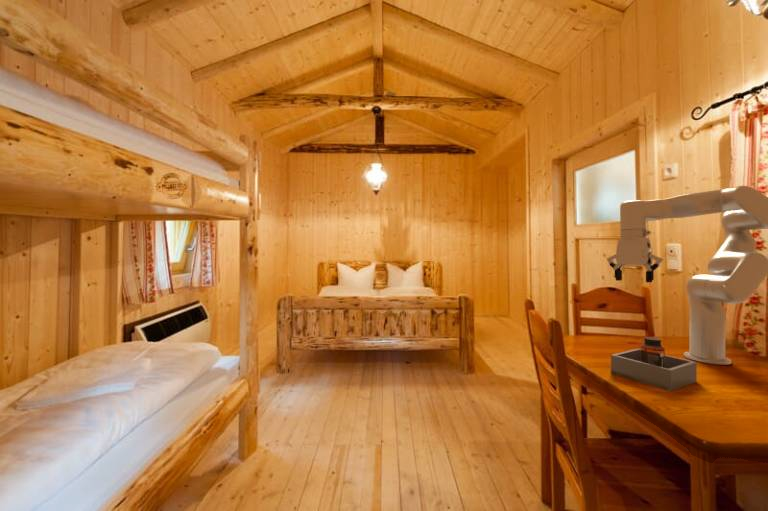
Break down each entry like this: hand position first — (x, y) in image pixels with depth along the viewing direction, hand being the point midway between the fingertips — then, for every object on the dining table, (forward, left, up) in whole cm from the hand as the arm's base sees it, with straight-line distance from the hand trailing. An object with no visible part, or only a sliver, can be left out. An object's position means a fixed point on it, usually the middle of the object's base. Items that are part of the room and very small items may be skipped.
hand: (633, 281), depth 121 cm
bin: (+13, +12, -29) cm, 34 cm away
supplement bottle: (+13, +12, -28) cm, 33 cm away
